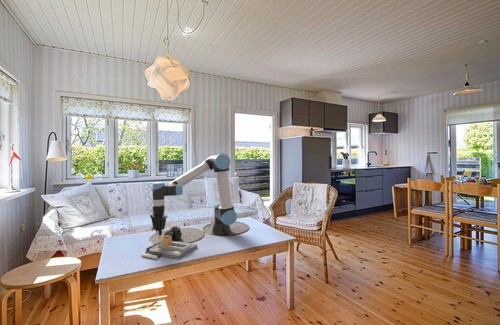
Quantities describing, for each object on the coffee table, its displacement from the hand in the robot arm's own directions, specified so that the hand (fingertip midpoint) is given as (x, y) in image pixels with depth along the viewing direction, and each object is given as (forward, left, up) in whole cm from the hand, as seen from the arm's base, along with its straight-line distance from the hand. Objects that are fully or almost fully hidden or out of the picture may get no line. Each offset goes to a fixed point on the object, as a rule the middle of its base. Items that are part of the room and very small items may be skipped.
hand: (158, 239), depth 163 cm
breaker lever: (0, +7, -3) cm, 8 cm away
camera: (-16, 0, -6) cm, 17 cm away
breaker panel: (0, +13, -5) cm, 14 cm away
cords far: (+13, +6, -5) cm, 16 cm away
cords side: (+1, -2, -5) cm, 6 cm away
